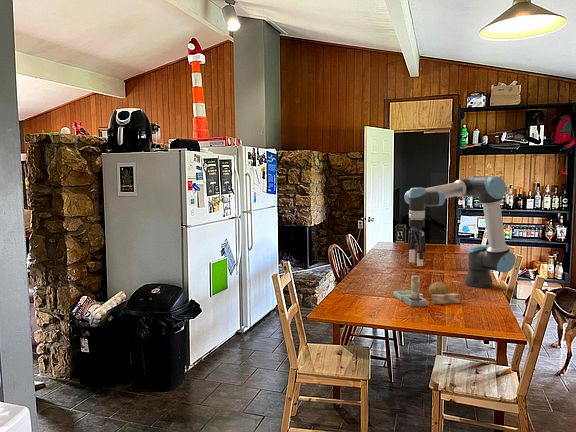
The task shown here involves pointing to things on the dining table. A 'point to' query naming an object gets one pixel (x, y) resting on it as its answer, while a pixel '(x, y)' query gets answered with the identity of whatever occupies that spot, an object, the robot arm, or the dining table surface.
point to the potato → (438, 288)
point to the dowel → (415, 287)
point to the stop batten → (445, 298)
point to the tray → (403, 294)
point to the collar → (415, 301)
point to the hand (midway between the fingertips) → (416, 263)
